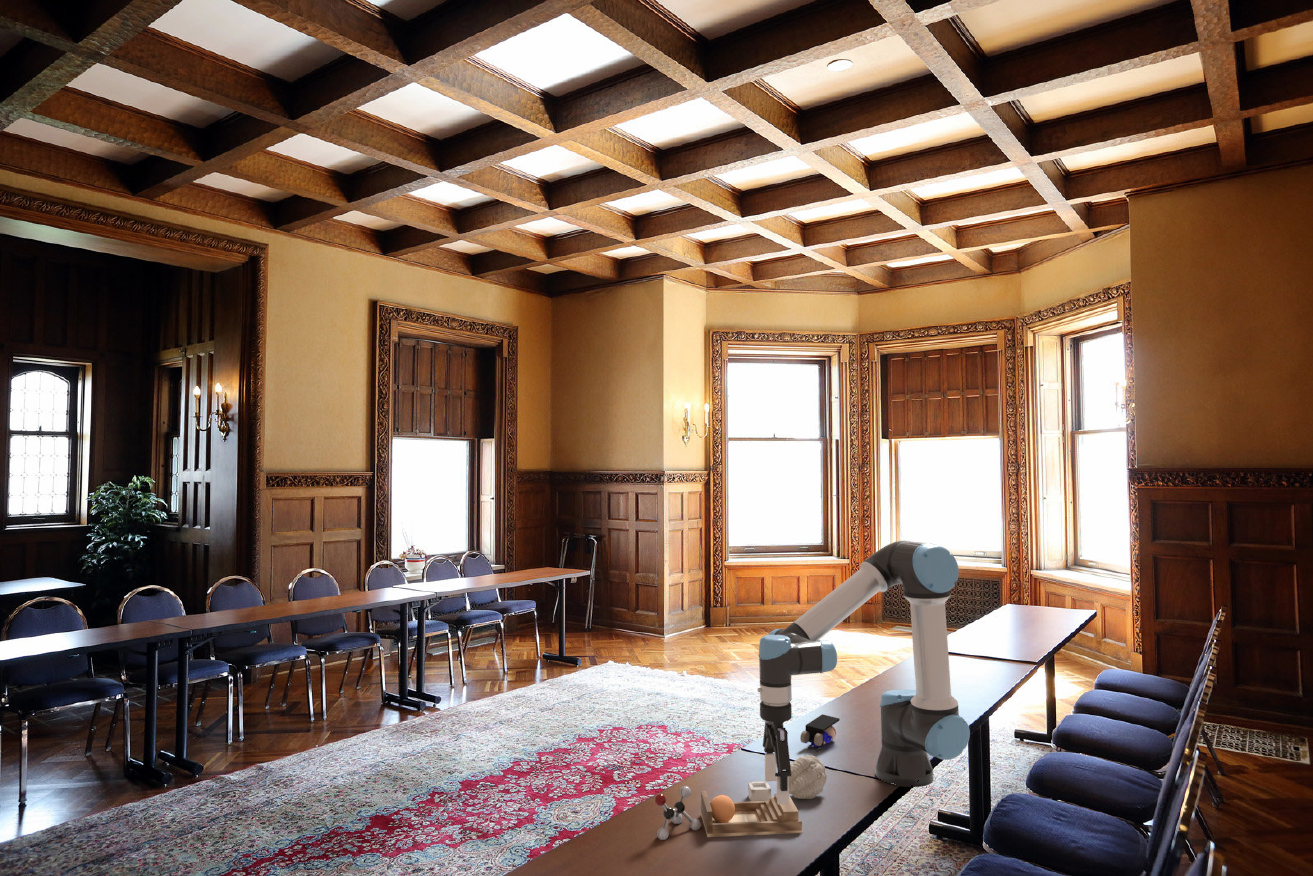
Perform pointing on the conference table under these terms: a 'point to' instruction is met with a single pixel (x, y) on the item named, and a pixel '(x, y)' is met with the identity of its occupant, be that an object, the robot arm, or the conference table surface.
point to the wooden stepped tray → (753, 818)
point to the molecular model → (676, 816)
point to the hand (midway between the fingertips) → (776, 792)
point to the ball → (722, 808)
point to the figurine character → (819, 731)
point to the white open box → (759, 791)
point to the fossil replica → (807, 777)
